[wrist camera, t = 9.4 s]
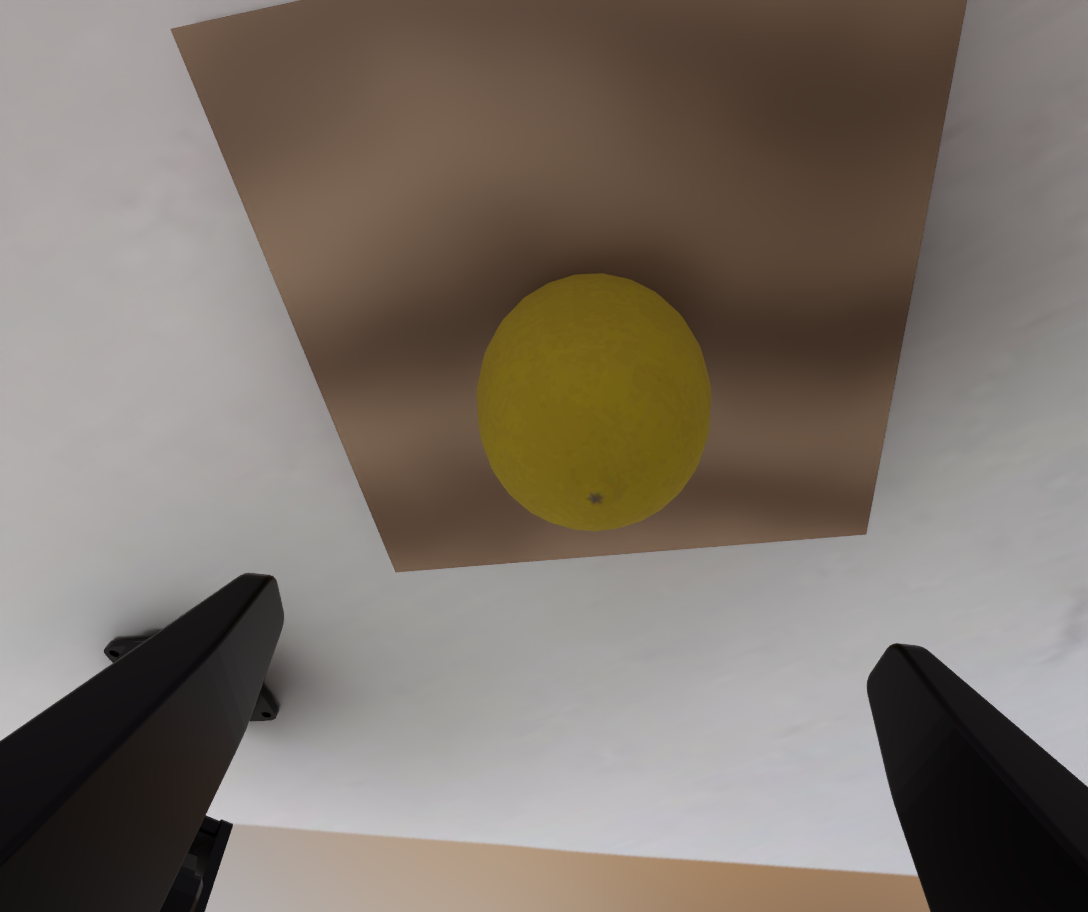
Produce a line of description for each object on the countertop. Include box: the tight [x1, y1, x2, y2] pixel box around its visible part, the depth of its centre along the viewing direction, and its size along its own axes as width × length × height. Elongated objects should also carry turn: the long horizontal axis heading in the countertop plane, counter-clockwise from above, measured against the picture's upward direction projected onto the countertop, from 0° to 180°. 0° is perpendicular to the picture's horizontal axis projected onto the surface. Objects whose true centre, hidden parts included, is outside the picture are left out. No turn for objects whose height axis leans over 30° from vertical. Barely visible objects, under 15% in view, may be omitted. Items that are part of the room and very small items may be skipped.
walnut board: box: [171, 0, 967, 572], centre depth 18 cm, size 18×18×1 cm
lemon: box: [477, 273, 711, 531], centre depth 14 cm, size 6×6×8 cm
